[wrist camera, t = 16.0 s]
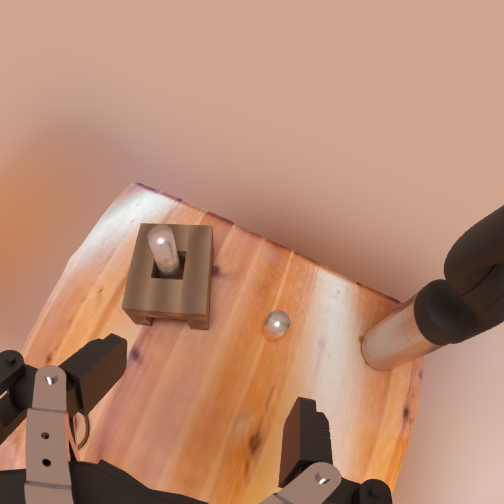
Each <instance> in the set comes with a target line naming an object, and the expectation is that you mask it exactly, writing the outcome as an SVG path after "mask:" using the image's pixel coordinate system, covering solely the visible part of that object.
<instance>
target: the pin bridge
mask: <svg viewBox="0 0 504 504" xmlns="http://www.w3.org/2000/svg"><path fill="white" fill-rule="evenodd" d="M159 225H164V226H168V227H169V228H171V230H172V232H173V236H174V240H175V244H176V249H177V253H178V257H179V260H183V261H185V266H184V274H183V280H175V279H159V273H160V271H159V269H158V266H157V264H156V261H155V258H154V256H153V253H152V250H151V247H150V245H149V242H148V233H149V232H150V230H151V229H152V228H154V227H156V226H159ZM213 252H214V249H213V226H203V225H177V224H145V223H141V225H140V229H139V233H138V236H137V240H136V244H135V248H134V252H133V257H132V261H131V265H130V270H129V274H128V279H127V284H126V288H125V293H124V299H123V304H122V309H123V310H124V311H125V312H126V313H127V315H128V316H129V317H130V318H131V319H132V320H133V322H134V323H135V324H137V325H147V326H152V321H153V317H156V318H168V319H182V320H188V322H189V325H190V328H191V329H196V330H208V327H209V310H210V293H211V279H212V265H213Z"/></svg>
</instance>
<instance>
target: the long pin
mask: <svg viewBox="0 0 504 504" xmlns="http://www.w3.org/2000/svg"><path fill="white" fill-rule="evenodd" d="M148 242H149V245H150V247H151V250H152V253H153V256H154V258H155V261H156V264H157V266H158V269H159V271H160V274H161V277H162V279H175V280H183V273H182V269H181V265H180V261H179V257H178V253H177V249H176V244H175V240H174V236H173V232H172V230H171V228H169V227H168V226H164V225H159V226H156V227H154V228H152V229H151V230H150V232H149V233H148Z"/></svg>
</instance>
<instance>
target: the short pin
mask: <svg viewBox="0 0 504 504" xmlns="http://www.w3.org/2000/svg"><path fill="white" fill-rule="evenodd" d="M289 326H290V318H289V316H288V315H287V314H286V313H285V312H283V311H280V310H276V311H273V312H271V313H270V314H269V316H268V318H267V320H266V322H265V325H264V327H263V329H262V334H263V337H264V338H265V339H266V340H267V341H269V342H276V341H278V340H280V339H281V337H282V336H283V334H284V333H285V332H286V330H287V329H288V327H289Z"/></svg>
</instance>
